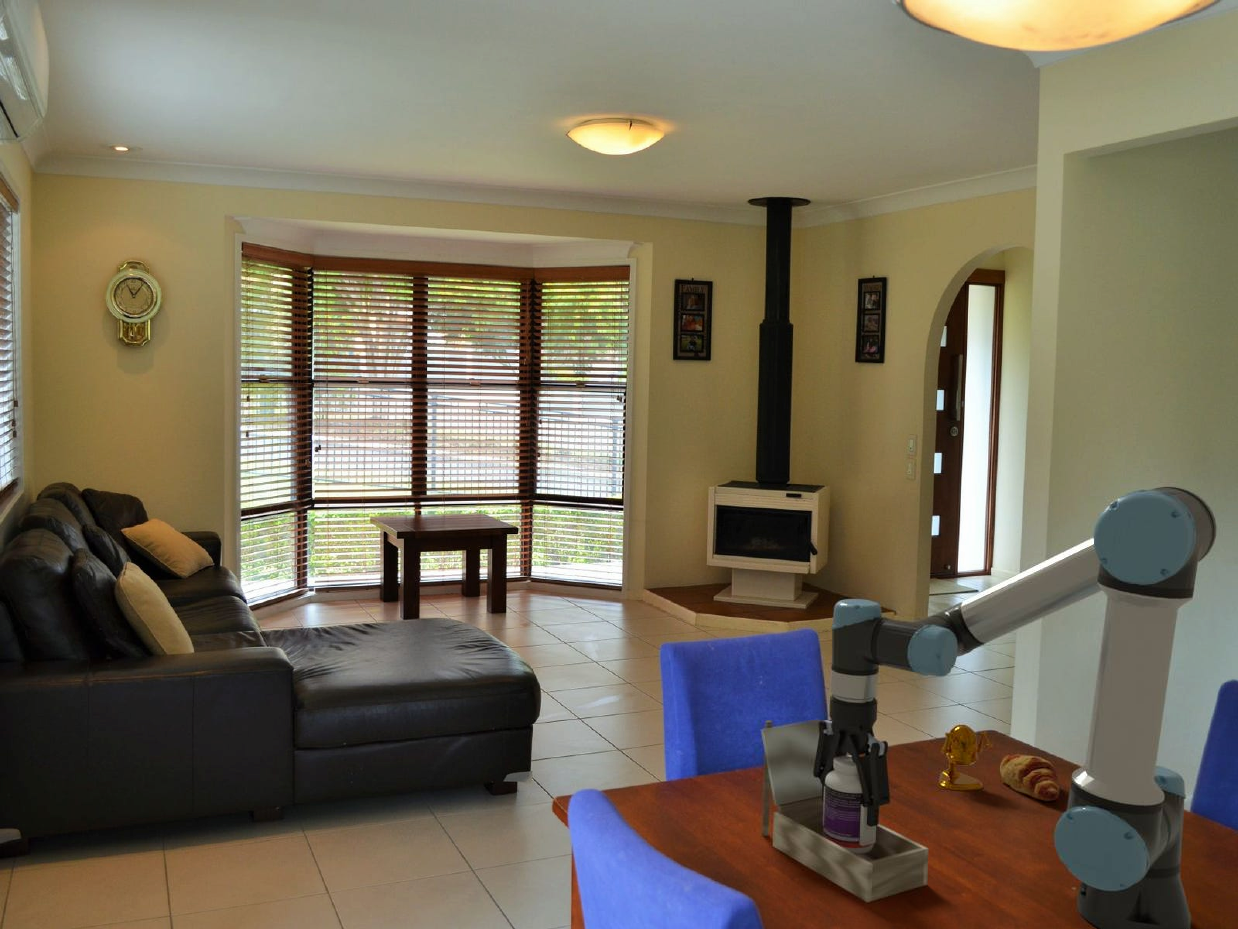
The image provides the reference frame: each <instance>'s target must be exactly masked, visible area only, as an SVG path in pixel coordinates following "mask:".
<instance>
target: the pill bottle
mask: <svg viewBox="0 0 1238 929" xmlns="http://www.w3.org/2000/svg"><path fill="white" fill-rule="evenodd" d="M833 767H834V769H835V770H833V771H831V772H829V773H828V774H827V776H826V779H825V806H824V831H823V837H824V838H826V839H828V840H830V841H832V842H834V843H835V844H837V845H839V846H841V847H843V848H845V849H846V850H848V851H850V852H852V853H854V854H855V855H861V854H865V853H867V852H869V851H870V850H871V849H872V848H873V844H874V843H873V844H869V845H865V846H862V845H860V818H861V804H864V803H865V800H864V796H863V792H862V788H861V784H860V780H859V775H858V771H857V767H856V764H855V763H854V762H853V760H852V757H851V755H850V754H847V755H844V756H839V757H835V758H834V763H833ZM871 798H873V795H872V796H871Z"/></svg>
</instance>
